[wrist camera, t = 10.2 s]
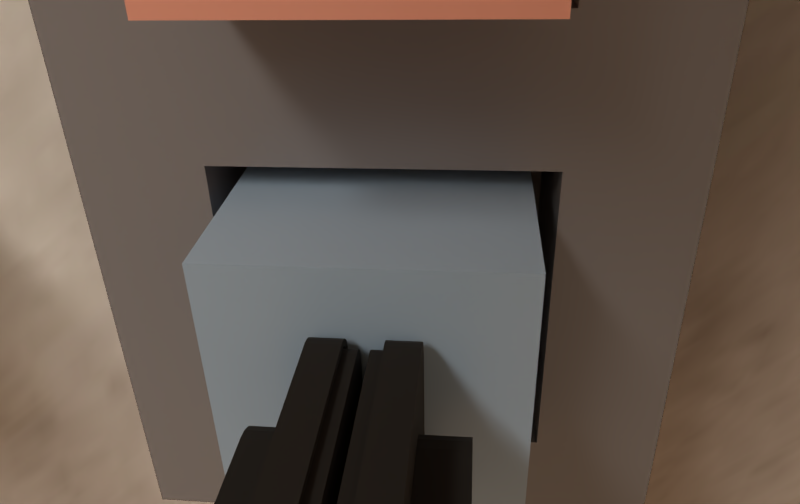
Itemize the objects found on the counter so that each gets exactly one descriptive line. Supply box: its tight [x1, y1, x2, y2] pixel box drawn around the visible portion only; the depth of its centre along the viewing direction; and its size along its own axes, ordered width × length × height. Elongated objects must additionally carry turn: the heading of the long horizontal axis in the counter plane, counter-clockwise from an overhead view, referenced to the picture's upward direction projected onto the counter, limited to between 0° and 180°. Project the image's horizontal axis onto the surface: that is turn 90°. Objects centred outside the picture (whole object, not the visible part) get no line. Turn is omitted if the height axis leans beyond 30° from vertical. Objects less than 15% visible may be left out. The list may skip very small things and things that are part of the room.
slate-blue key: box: [182, 167, 546, 504], centre depth 12 cm, size 5×5×4 cm
